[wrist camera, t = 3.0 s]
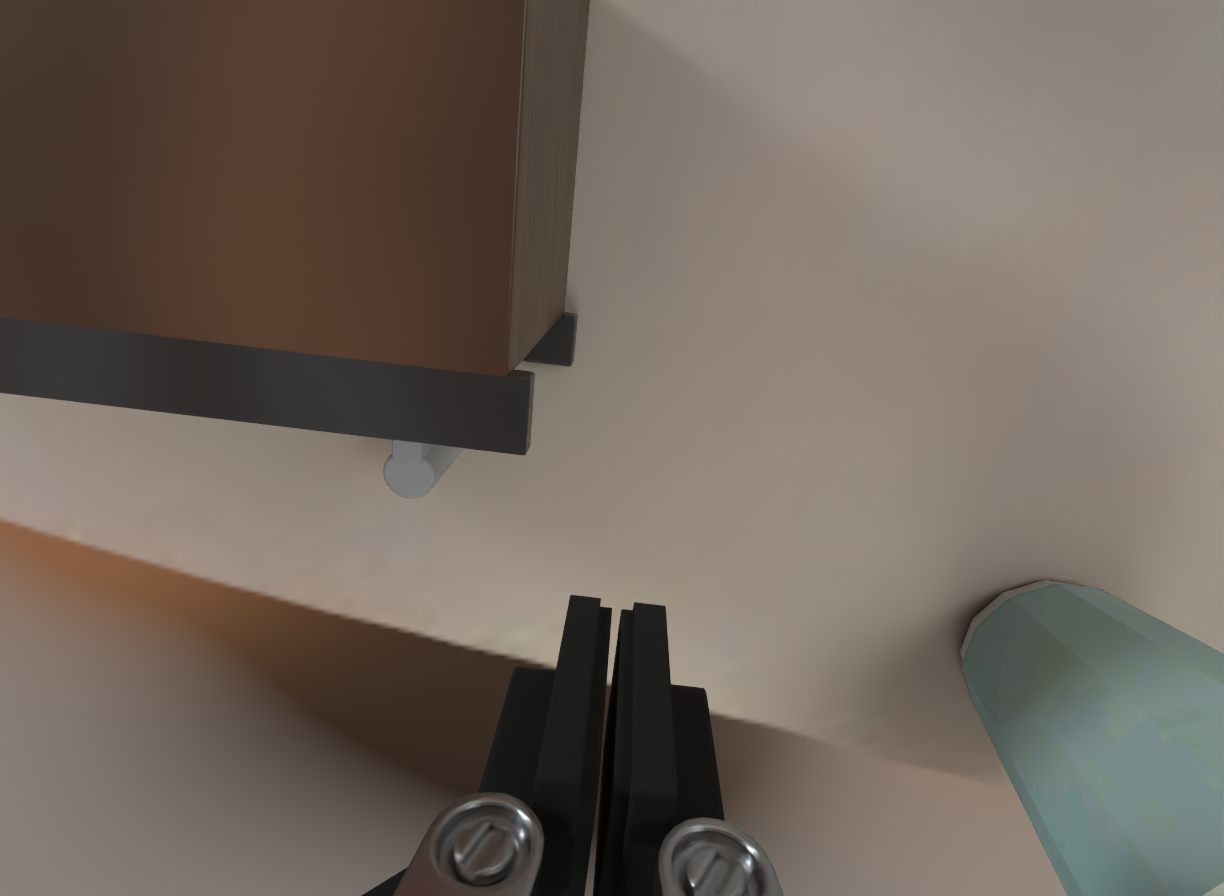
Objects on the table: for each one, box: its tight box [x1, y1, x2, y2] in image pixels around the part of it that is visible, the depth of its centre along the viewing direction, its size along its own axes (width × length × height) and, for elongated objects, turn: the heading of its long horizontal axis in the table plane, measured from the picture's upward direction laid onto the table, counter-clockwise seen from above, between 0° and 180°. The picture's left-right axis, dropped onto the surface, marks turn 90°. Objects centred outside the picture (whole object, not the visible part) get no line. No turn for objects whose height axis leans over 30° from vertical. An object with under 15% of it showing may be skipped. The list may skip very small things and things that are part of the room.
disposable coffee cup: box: [960, 580, 1224, 896], centre depth 19 cm, size 11×11×15 cm
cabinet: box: [0, 0, 590, 455], centre depth 17 cm, size 25×12×10 cm, turn 84°
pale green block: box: [384, 440, 464, 498], centre depth 19 cm, size 15×4×8 cm, turn 84°
